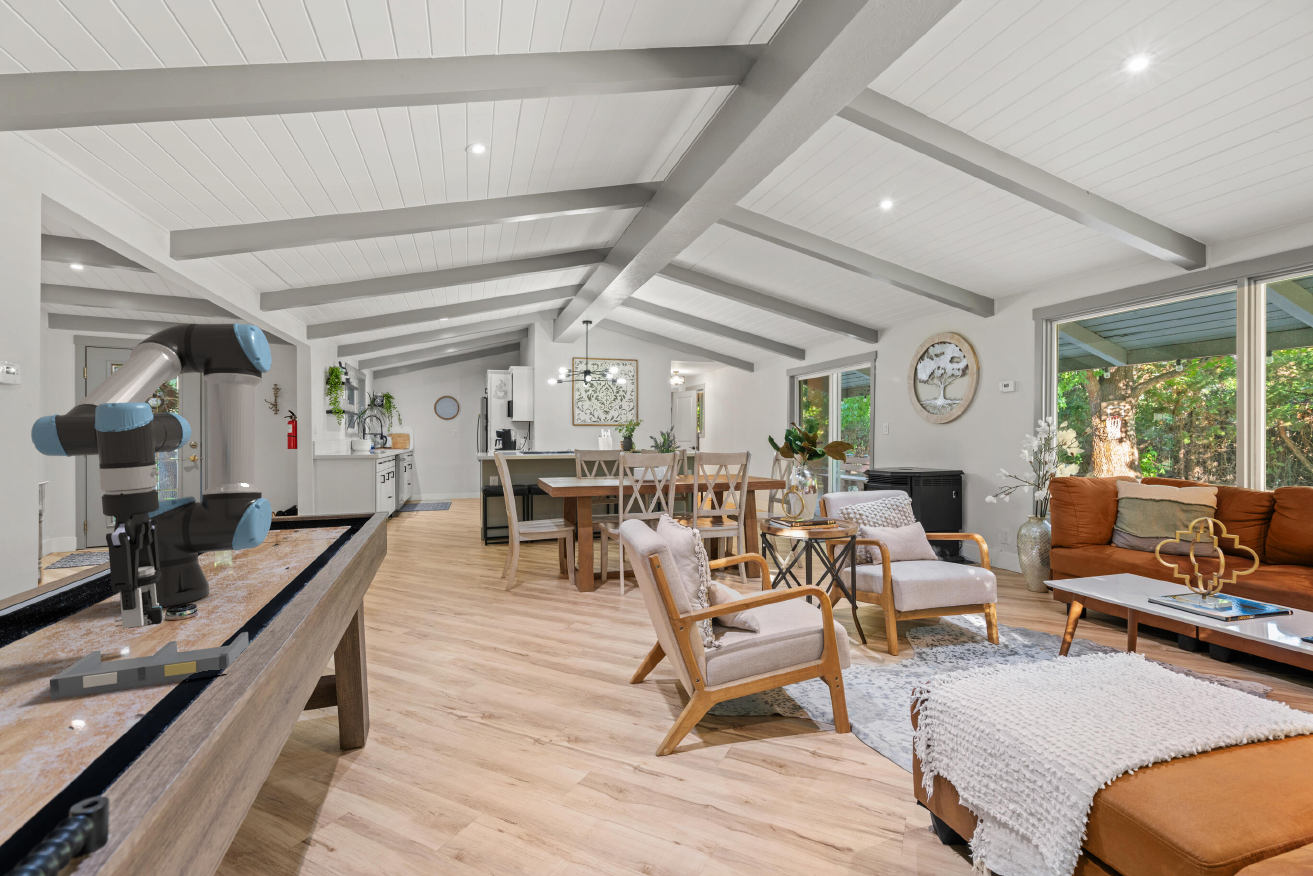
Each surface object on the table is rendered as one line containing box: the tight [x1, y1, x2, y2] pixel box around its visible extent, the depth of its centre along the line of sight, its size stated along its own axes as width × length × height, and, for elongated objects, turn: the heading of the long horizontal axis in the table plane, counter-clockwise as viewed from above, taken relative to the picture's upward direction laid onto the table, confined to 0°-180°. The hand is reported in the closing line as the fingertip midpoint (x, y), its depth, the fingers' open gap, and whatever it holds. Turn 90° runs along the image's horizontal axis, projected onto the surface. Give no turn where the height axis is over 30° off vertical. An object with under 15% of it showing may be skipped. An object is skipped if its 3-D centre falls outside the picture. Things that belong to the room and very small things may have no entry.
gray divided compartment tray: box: [49, 631, 250, 701], centre depth 100 cm, size 12×22×3 cm, turn 110°
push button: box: [114, 566, 164, 629], centre depth 109 cm, size 7×5×10 cm
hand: (140, 621), depth 109 cm, fingers closed on push button, 5 cm apart
